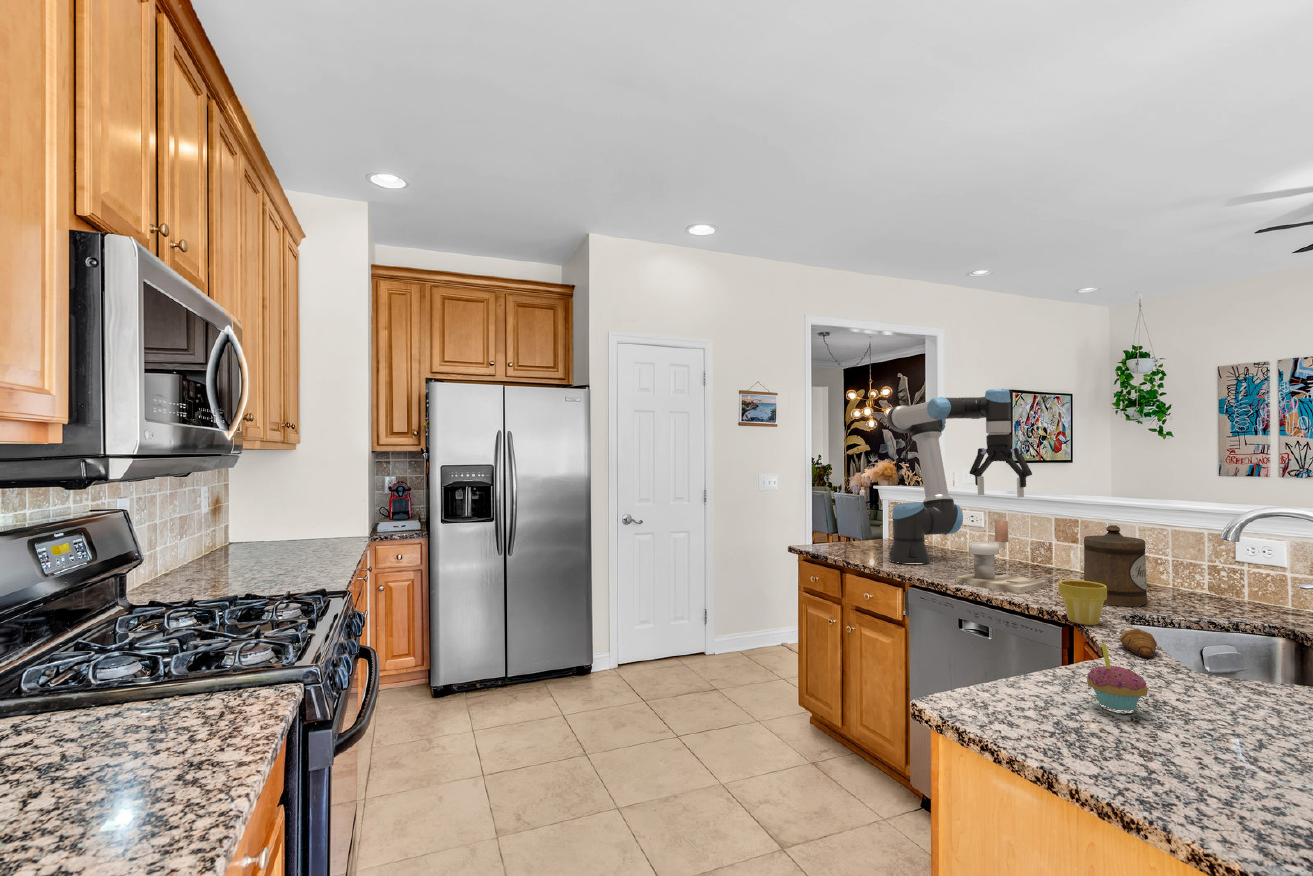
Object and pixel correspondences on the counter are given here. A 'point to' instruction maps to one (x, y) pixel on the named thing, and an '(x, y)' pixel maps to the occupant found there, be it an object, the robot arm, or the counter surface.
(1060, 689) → the counter surface
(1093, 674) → the cupcake
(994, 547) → the crank handle
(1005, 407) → the robot arm
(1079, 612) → the plant pot
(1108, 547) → the wooden container
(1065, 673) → the counter surface
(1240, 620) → the counter surface
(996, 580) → the post base
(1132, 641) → the croissant
